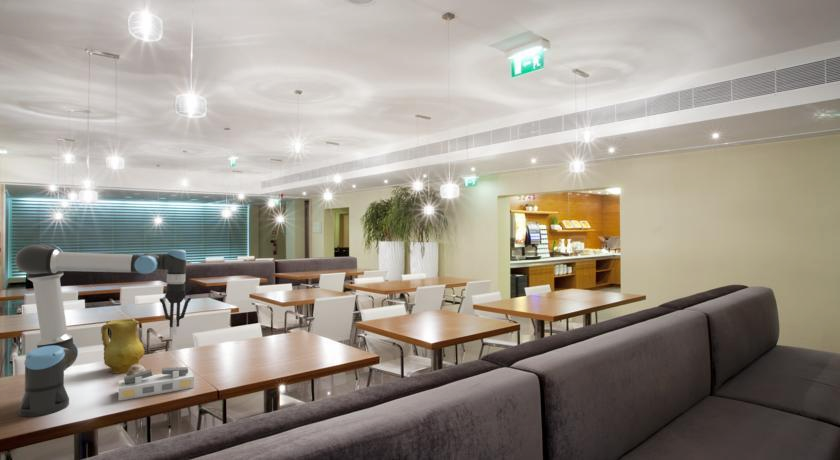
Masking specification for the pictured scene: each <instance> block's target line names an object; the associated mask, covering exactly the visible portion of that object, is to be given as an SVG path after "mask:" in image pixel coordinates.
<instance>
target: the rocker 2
mask: <svg viewBox="0 0 840 460" xmlns="http://www.w3.org/2000/svg"><path fill="white" fill-rule="evenodd" d="M188 370H189V368H188V366H187V367H186V366H183V367H182V366H172V367H162V369H161V374H173V371H179V374H188Z"/></svg>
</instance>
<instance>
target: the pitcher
mask: <svg viewBox="0 0 840 460" xmlns="http://www.w3.org/2000/svg"><path fill="white" fill-rule="evenodd" d="M139 323H140V322H139V321H138V320H136V319H135V318H125V319H124V318H123V319H116V320H115V319H114V320H112V321H108V322H107V323H105V324H103V325H102V326H101V329H100V332H101V333H100V334H101V340H102V345H103V362H104V365H105V366H106V367H108V368H110V369H109V370H108V371H109V373H110V372H111V374H122V373H127V372H128V370H129V368H130V367H131V366H132V365H134V364H140V360H141V359H142V358H143V357H144V356H145V348H144V347H145V346H144V345H143V343H142V342H141V340H140V338H139V336H138V325H139ZM108 330H110V332H111V336H110V339H109V333H108V332H109V331H108Z"/></svg>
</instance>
